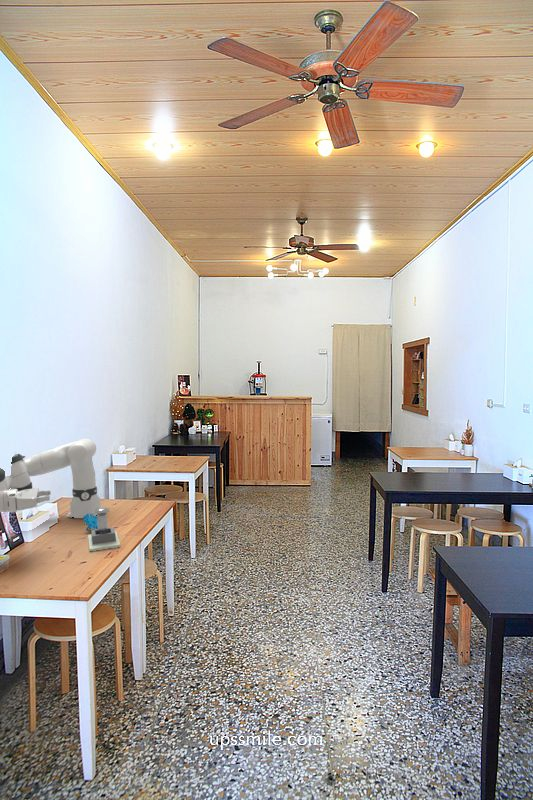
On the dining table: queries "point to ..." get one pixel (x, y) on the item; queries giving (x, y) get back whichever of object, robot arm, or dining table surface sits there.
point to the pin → (102, 520)
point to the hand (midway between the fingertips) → (50, 495)
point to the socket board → (103, 540)
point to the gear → (91, 521)
